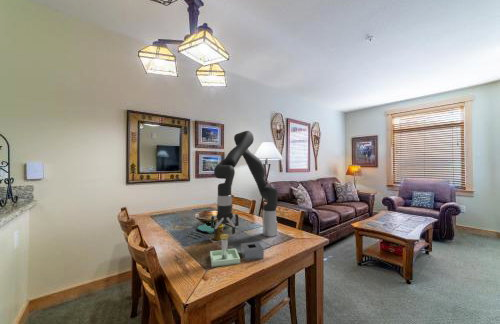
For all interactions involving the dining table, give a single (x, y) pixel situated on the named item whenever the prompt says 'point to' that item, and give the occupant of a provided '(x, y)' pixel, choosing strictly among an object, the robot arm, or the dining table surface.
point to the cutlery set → (202, 228)
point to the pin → (224, 246)
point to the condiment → (218, 233)
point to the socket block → (252, 251)
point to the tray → (218, 261)
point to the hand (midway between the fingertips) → (224, 234)
